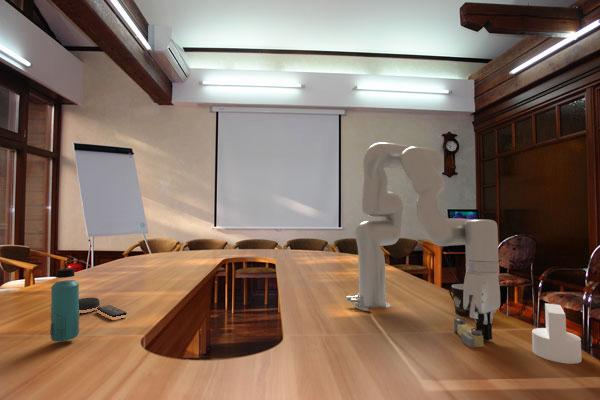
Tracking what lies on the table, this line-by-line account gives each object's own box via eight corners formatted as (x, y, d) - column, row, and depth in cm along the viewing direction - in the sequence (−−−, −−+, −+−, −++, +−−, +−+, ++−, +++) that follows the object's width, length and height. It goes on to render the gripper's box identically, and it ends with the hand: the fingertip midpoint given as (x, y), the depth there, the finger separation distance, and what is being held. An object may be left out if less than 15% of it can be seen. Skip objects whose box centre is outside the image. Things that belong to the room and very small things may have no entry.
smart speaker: (89, 315, 115) (89, 303, 116) (63, 315, 116) (64, 303, 116) (104, 307, 124) (104, 297, 124) (81, 307, 124) (81, 297, 125)
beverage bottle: (84, 339, 92) (86, 267, 93) (60, 349, 86) (62, 271, 87) (68, 337, 94) (69, 266, 95) (43, 346, 88) (44, 270, 89)
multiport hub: (113, 322, 108) (113, 315, 108) (96, 314, 117) (96, 307, 117) (127, 319, 111) (127, 312, 112) (109, 311, 121) (110, 304, 121)
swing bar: (452, 330, 93) (452, 316, 93) (462, 330, 93) (462, 316, 93) (473, 347, 81) (473, 331, 82) (485, 347, 81) (484, 331, 82)
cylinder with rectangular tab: (585, 373, 71) (583, 316, 71) (534, 364, 76) (532, 310, 76) (578, 358, 78) (576, 306, 79) (531, 350, 83) (530, 301, 84)
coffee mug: (485, 323, 103) (484, 290, 104) (456, 321, 105) (455, 289, 105) (474, 312, 115) (473, 282, 115) (447, 310, 116) (446, 282, 117)
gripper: (483, 262, 94) (485, 328, 93) (451, 267, 86) (453, 339, 85) (511, 266, 88) (514, 336, 87) (480, 271, 80) (483, 349, 79)
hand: (484, 338), depth 86 cm, fingers closed
